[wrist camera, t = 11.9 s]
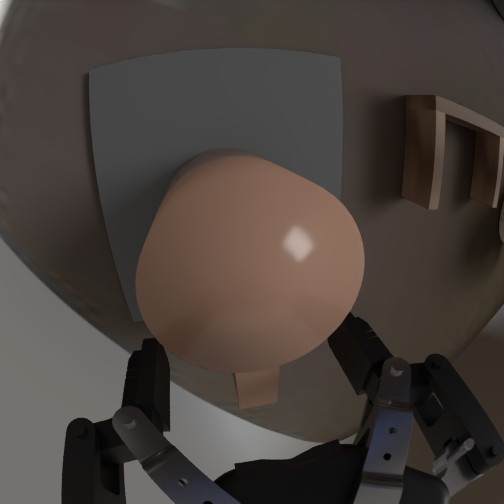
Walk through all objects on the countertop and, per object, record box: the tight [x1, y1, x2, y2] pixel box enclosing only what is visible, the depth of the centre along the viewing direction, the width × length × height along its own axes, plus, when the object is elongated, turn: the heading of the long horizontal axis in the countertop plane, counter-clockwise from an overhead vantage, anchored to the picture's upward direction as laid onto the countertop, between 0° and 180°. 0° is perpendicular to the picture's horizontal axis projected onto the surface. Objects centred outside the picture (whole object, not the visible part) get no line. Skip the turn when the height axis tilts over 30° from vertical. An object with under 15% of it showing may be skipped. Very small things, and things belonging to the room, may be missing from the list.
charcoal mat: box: [89, 48, 343, 322], centre depth 14 cm, size 16×14×1 cm
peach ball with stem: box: [135, 148, 364, 409], centre depth 12 cm, size 10×7×8 cm, turn 2°
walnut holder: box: [401, 95, 504, 210], centre depth 15 cm, size 8×11×3 cm
